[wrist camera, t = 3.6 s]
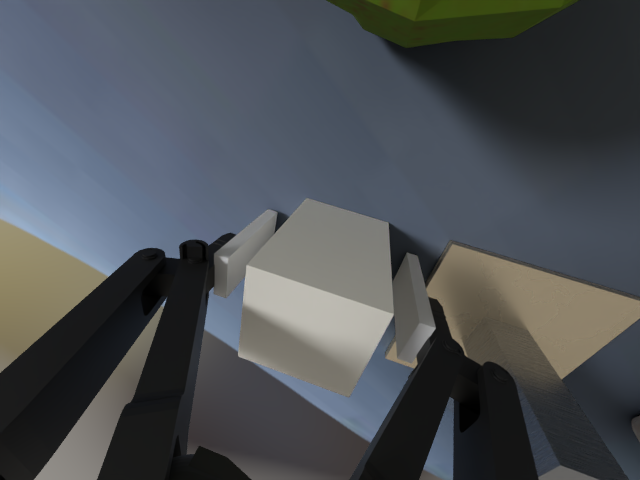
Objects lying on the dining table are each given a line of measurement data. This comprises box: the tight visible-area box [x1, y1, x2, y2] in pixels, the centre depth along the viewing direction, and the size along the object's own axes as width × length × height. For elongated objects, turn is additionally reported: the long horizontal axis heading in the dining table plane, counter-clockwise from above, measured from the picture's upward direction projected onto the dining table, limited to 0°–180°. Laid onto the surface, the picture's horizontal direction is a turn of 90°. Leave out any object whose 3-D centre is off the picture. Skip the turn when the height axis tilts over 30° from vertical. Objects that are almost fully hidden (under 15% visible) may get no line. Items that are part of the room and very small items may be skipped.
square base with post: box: [385, 240, 640, 480], centre depth 14 cm, size 12×12×9 cm
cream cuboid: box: [238, 198, 394, 397], centre depth 14 cm, size 6×6×9 cm
